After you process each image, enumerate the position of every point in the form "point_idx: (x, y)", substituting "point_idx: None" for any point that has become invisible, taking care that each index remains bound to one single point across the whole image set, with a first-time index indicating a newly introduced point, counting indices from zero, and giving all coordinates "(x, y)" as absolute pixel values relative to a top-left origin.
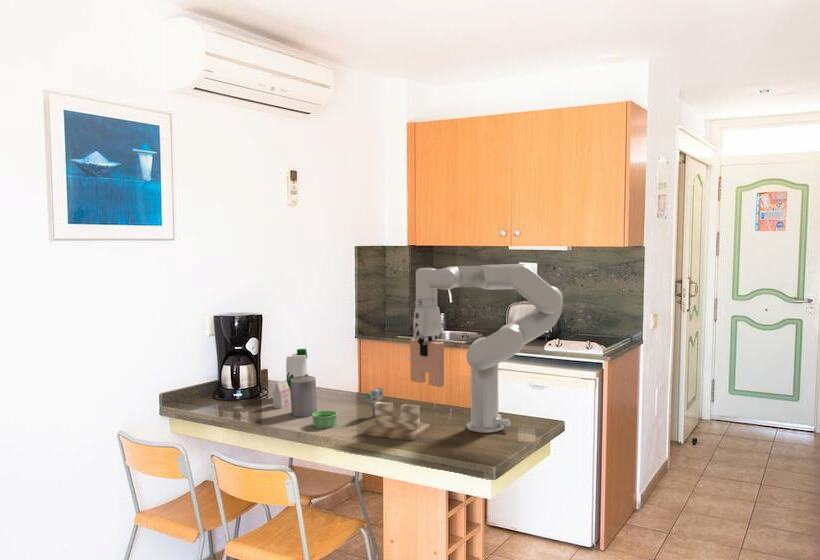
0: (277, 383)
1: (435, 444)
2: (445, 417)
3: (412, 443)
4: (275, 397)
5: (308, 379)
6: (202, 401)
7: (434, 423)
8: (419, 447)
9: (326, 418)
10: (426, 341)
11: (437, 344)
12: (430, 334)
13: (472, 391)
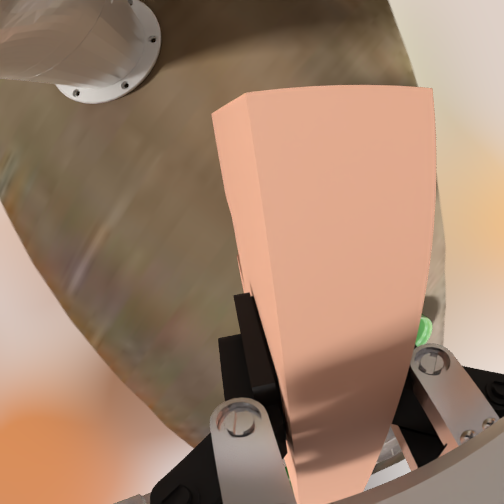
0: (377, 462)
1: (329, 21)
2: (128, 219)
3: (368, 72)
4: None
5: (392, 443)
6: (389, 461)
7: (196, 183)
8: (373, 37)
9: (423, 315)
10: (364, 426)
11: (424, 139)
12: (494, 457)
13: (113, 13)
